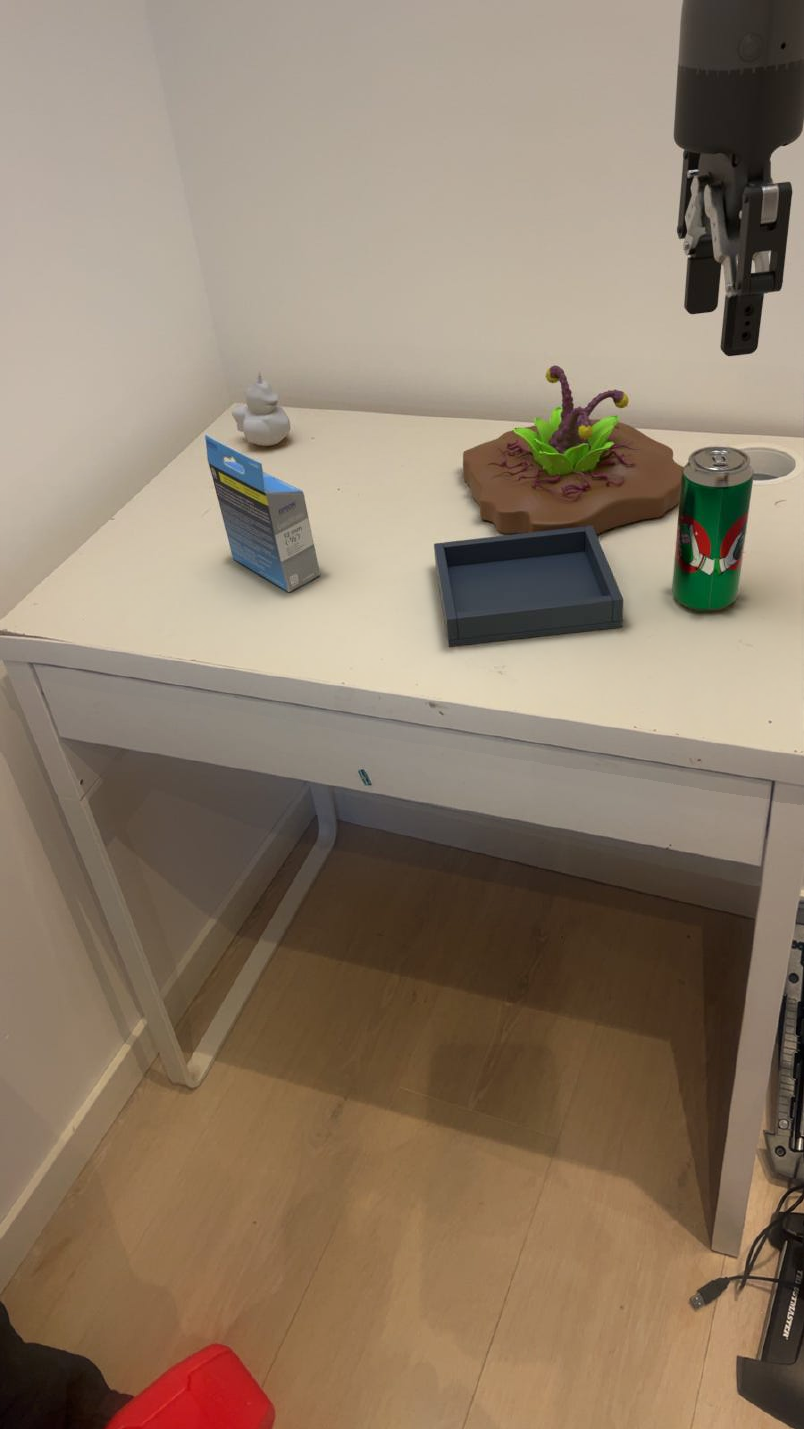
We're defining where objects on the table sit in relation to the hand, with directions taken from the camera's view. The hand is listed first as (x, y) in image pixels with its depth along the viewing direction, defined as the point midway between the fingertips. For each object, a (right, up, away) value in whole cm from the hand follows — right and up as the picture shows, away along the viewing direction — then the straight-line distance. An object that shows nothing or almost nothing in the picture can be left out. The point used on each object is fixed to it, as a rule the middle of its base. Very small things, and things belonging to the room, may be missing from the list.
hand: (718, 331), depth 70 cm
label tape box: (-33, -13, +22) cm, 42 cm away
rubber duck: (-36, +4, +43) cm, 57 cm away
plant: (-6, -4, +29) cm, 30 cm away
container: (-11, -16, +15) cm, 25 cm away
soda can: (+3, -17, +13) cm, 21 cm away
